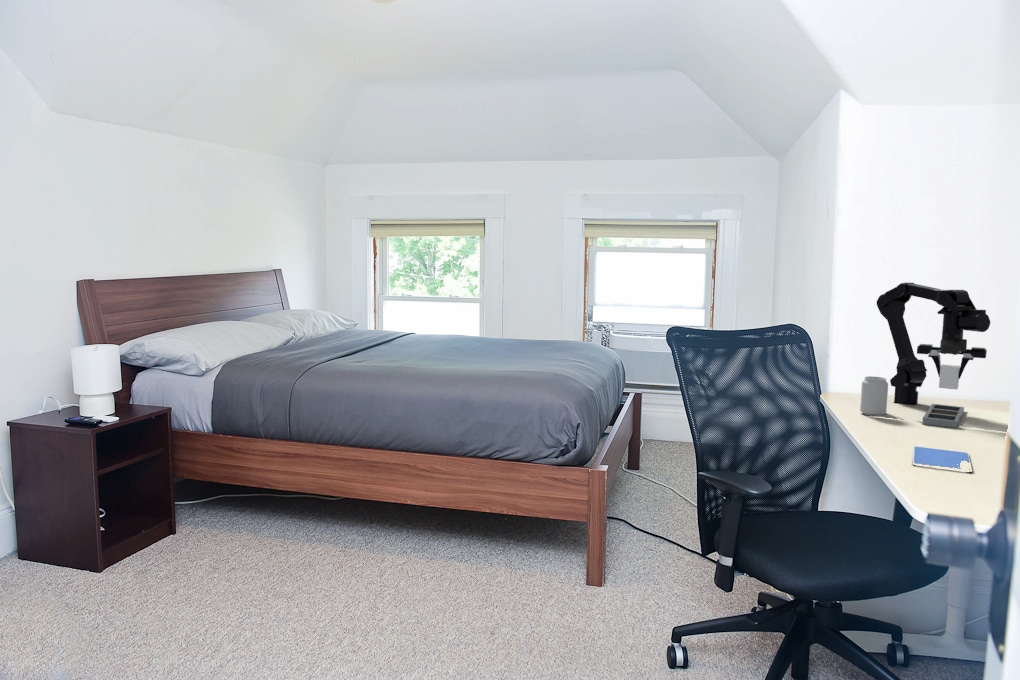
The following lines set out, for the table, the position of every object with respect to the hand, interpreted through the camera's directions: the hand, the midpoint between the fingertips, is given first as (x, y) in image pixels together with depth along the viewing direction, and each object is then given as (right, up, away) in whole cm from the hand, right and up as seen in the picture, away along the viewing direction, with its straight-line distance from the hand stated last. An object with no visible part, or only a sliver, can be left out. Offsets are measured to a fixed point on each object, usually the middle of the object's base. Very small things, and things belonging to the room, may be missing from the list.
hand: (949, 377), depth 232 cm
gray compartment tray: (-5, -13, -6) cm, 15 cm away
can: (-25, -12, 0) cm, 27 cm away
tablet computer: (-34, -18, -53) cm, 66 cm away
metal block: (0, -3, 0) cm, 3 cm away
